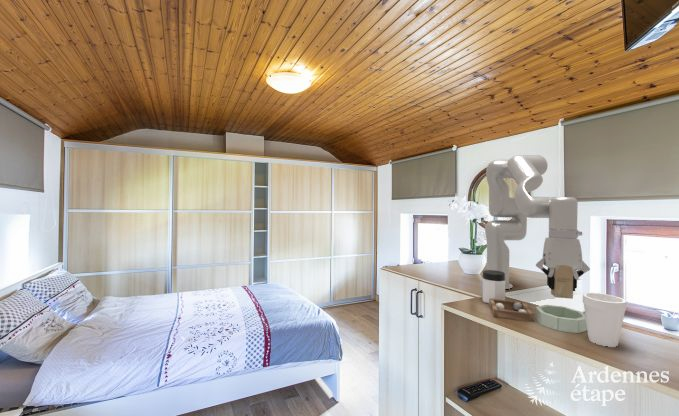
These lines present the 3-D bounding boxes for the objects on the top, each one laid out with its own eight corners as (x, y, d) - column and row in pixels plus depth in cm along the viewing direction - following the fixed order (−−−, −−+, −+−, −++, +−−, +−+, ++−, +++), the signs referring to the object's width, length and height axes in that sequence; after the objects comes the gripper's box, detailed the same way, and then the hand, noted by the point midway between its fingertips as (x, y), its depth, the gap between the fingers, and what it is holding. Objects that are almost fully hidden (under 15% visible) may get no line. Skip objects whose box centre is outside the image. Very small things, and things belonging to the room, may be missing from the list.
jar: (509, 302, 121) (509, 272, 121) (500, 306, 116) (500, 275, 116) (486, 296, 128) (487, 268, 128) (477, 300, 123) (477, 271, 123)
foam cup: (629, 353, 81) (630, 305, 81) (585, 344, 86) (586, 299, 85) (619, 339, 89) (621, 295, 89) (580, 332, 94) (581, 290, 94)
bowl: (532, 314, 108) (533, 303, 108) (576, 319, 104) (576, 307, 104) (543, 328, 96) (543, 316, 96) (593, 335, 92) (593, 322, 92)
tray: (489, 305, 118) (489, 298, 118) (524, 308, 114) (524, 302, 114) (494, 317, 106) (494, 310, 106) (533, 321, 102) (533, 314, 102)
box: (554, 297, 98) (554, 263, 98) (550, 293, 103) (550, 261, 102) (574, 299, 97) (573, 264, 97) (569, 295, 101) (568, 262, 101)
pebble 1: (495, 300, 113) (496, 304, 110) (504, 302, 112) (505, 306, 109) (494, 307, 114) (495, 312, 111) (502, 309, 113) (504, 313, 110)
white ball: (516, 315, 107) (516, 307, 107) (526, 316, 106) (526, 308, 106) (518, 318, 104) (518, 310, 104) (528, 319, 103) (528, 311, 103)
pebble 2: (512, 308, 114) (512, 300, 114) (521, 309, 113) (521, 301, 113) (514, 311, 112) (514, 303, 111) (523, 312, 111) (523, 304, 110)
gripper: (589, 234, 100) (588, 288, 100) (529, 232, 106) (529, 284, 106) (599, 236, 93) (598, 295, 93) (535, 234, 99) (534, 289, 99)
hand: (561, 288), depth 100 cm, fingers closed on box, 5 cm apart
